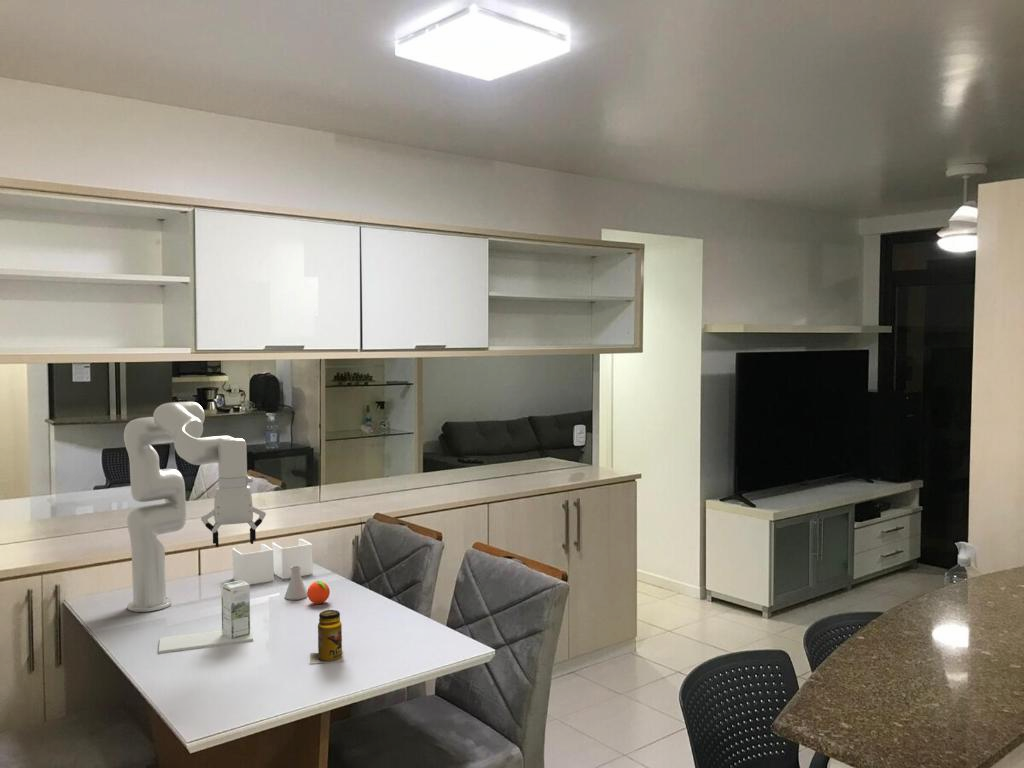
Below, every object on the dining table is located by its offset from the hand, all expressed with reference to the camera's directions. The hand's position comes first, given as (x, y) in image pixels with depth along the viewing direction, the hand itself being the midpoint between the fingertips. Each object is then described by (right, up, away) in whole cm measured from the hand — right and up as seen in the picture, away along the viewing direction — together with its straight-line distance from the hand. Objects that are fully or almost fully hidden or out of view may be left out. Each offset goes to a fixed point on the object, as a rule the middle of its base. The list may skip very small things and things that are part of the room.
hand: (234, 544), depth 234 cm
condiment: (+29, -27, -16) cm, 43 cm away
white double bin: (-7, -24, +64) cm, 68 cm away
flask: (+7, -25, +38) cm, 46 cm away
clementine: (+17, -25, +31) cm, 43 cm away
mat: (-7, -26, -2) cm, 27 cm away
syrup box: (0, -26, +1) cm, 26 cm away
